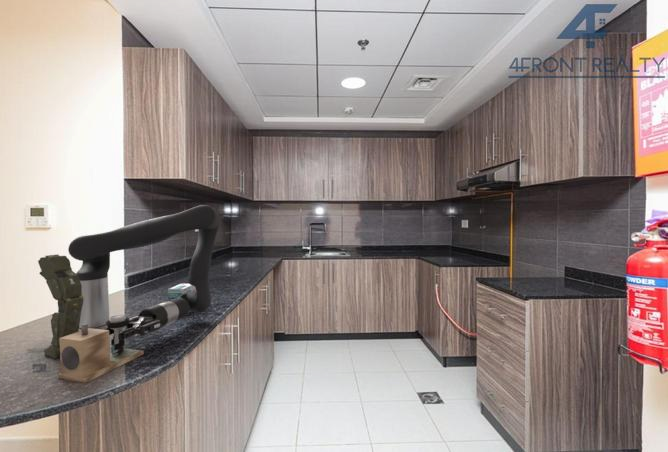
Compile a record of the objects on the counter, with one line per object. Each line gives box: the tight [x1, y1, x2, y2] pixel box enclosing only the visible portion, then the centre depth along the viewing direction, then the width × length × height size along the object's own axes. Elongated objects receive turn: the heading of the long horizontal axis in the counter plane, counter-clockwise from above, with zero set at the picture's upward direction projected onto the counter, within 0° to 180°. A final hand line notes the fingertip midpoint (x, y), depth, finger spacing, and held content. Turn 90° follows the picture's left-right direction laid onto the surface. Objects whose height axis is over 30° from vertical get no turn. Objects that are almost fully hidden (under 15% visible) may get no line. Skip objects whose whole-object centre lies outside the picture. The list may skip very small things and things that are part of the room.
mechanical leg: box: [37, 254, 84, 360], centre depth 91 cm, size 14×7×30 cm, turn 71°
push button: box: [105, 314, 130, 356], centre depth 88 cm, size 7×5×10 cm
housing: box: [57, 324, 145, 384], centre depth 83 cm, size 16×9×12 cm, turn 164°
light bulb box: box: [167, 283, 197, 313], centre depth 130 cm, size 11×7×11 cm, turn 179°
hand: (109, 335), depth 85 cm, fingers open, 6 cm apart
